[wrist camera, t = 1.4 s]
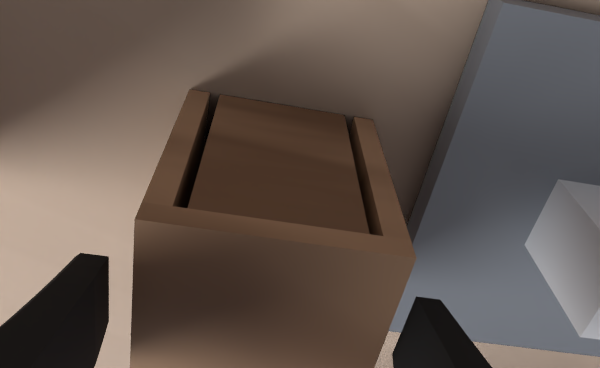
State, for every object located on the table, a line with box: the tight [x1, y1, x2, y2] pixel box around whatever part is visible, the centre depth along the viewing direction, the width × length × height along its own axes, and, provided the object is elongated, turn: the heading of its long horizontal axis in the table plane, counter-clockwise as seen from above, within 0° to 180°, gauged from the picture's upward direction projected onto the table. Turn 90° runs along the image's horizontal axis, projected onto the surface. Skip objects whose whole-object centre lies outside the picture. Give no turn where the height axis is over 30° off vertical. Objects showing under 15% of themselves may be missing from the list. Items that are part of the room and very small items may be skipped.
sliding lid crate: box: [130, 89, 416, 368], centre depth 15 cm, size 6×6×7 cm
